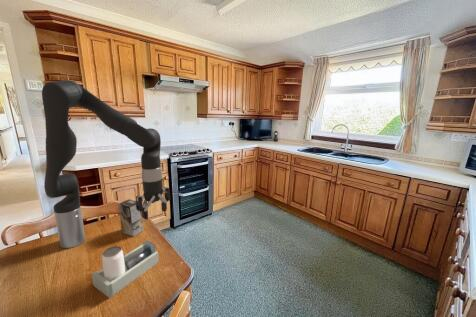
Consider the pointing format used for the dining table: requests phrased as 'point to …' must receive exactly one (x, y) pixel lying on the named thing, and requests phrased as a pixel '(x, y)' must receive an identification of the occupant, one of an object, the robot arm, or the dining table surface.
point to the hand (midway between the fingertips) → (155, 214)
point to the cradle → (128, 276)
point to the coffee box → (130, 218)
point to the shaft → (141, 255)
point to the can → (113, 263)
